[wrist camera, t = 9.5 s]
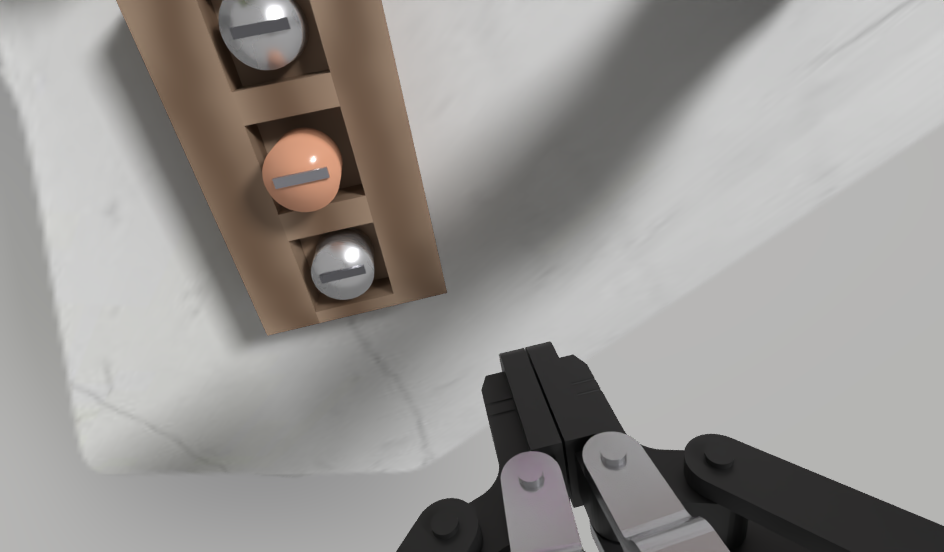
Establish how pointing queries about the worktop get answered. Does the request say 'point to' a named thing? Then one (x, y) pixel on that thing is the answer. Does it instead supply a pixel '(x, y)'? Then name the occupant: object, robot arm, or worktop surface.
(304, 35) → the metal knob
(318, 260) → the metal knob
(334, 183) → the terracotta knob
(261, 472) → the worktop surface
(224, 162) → the console
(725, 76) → the worktop surface
